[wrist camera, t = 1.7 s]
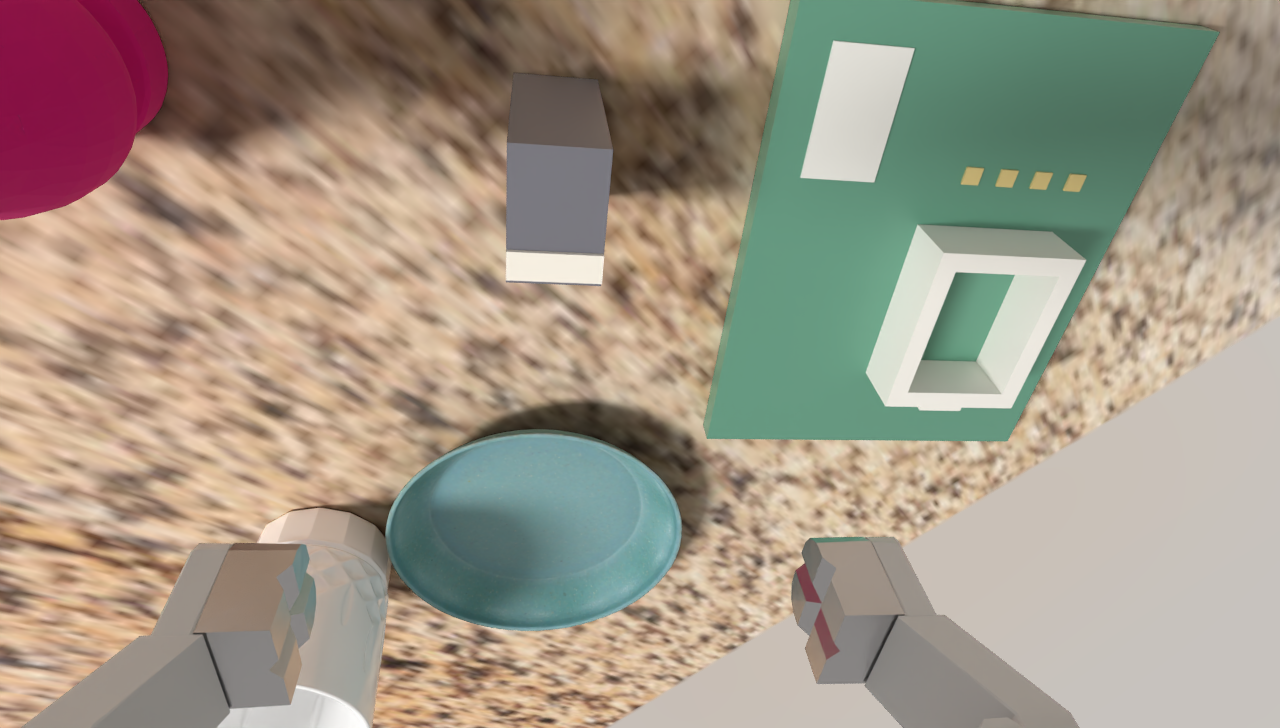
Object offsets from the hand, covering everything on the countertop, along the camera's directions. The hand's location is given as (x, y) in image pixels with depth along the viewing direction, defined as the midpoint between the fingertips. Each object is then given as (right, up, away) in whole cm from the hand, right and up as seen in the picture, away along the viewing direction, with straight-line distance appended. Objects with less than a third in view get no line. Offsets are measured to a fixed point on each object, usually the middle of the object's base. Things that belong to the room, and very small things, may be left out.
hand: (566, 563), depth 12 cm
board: (+13, +8, +21) cm, 26 cm away
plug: (-2, +12, +16) cm, 20 cm away
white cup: (-15, -6, +28) cm, 32 cm away
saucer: (-4, -4, +28) cm, 28 cm away
